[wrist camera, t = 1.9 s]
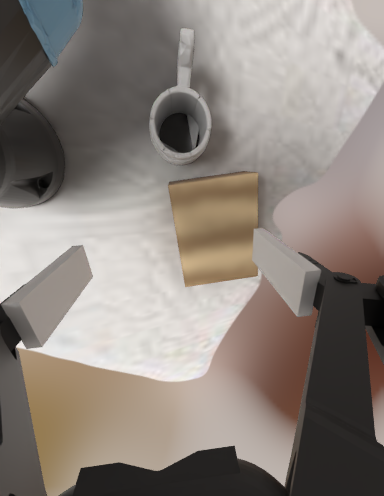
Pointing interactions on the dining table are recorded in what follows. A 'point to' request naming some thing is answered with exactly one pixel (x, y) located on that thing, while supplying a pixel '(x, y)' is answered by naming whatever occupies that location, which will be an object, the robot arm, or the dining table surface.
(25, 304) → the robot arm
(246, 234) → the wooden block
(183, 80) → the mug
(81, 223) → the dining table surface
